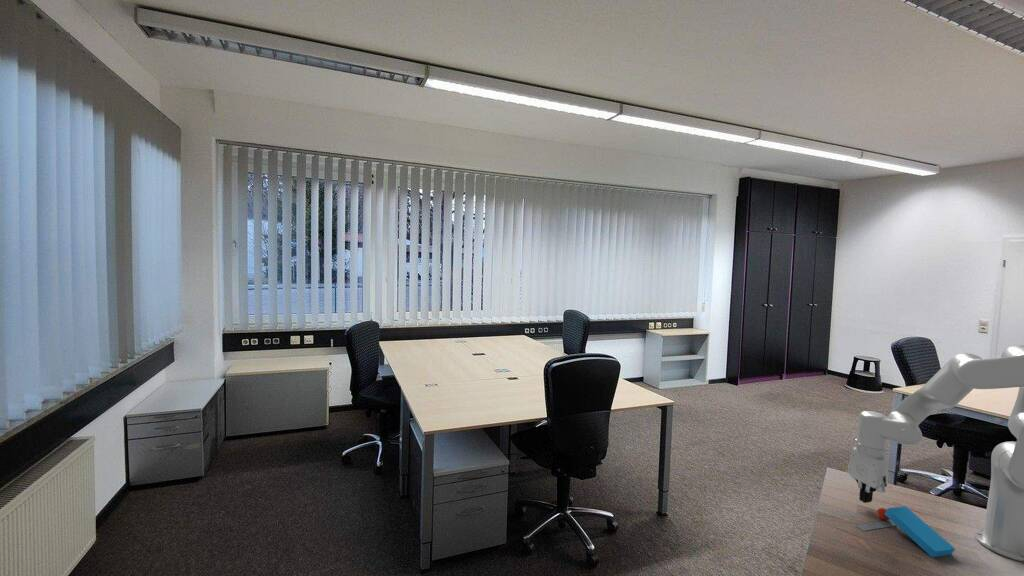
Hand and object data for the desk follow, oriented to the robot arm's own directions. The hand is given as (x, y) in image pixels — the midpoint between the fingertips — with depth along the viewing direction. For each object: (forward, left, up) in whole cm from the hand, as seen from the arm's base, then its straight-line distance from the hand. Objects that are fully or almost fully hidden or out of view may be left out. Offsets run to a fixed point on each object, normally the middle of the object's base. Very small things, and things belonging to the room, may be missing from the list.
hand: (865, 500), depth 145 cm
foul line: (+1, +8, -2) cm, 9 cm away
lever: (+1, +14, -3) cm, 14 cm away
